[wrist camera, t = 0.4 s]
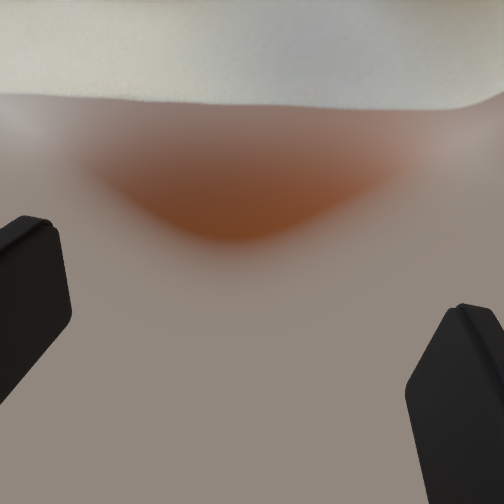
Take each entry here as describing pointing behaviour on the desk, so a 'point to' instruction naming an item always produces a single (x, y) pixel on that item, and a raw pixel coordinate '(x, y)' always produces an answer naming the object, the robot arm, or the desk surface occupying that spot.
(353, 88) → the desk surface
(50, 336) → the robot arm
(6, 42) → the desk surface
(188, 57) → the desk surface
